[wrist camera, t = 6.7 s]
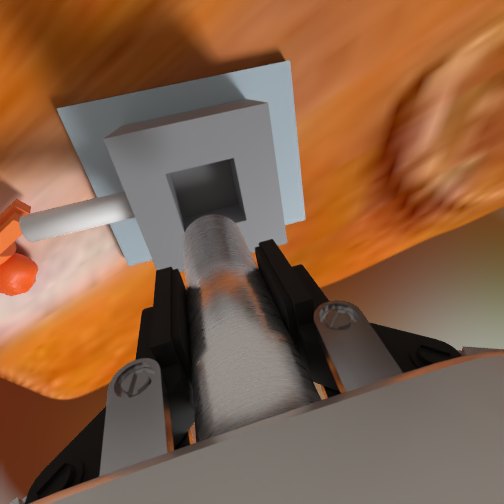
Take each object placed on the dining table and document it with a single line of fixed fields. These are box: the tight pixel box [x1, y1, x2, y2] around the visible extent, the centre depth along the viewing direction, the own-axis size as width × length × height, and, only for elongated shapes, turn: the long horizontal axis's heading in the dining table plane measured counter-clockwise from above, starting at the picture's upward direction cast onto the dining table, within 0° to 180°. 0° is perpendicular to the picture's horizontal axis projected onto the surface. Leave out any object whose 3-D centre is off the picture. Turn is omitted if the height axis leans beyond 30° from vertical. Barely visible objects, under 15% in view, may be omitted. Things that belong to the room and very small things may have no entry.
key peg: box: [183, 214, 321, 443], centre depth 10 cm, size 3×3×12 cm
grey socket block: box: [19, 60, 305, 272], centre depth 24 cm, size 22×14×8 cm, turn 100°
